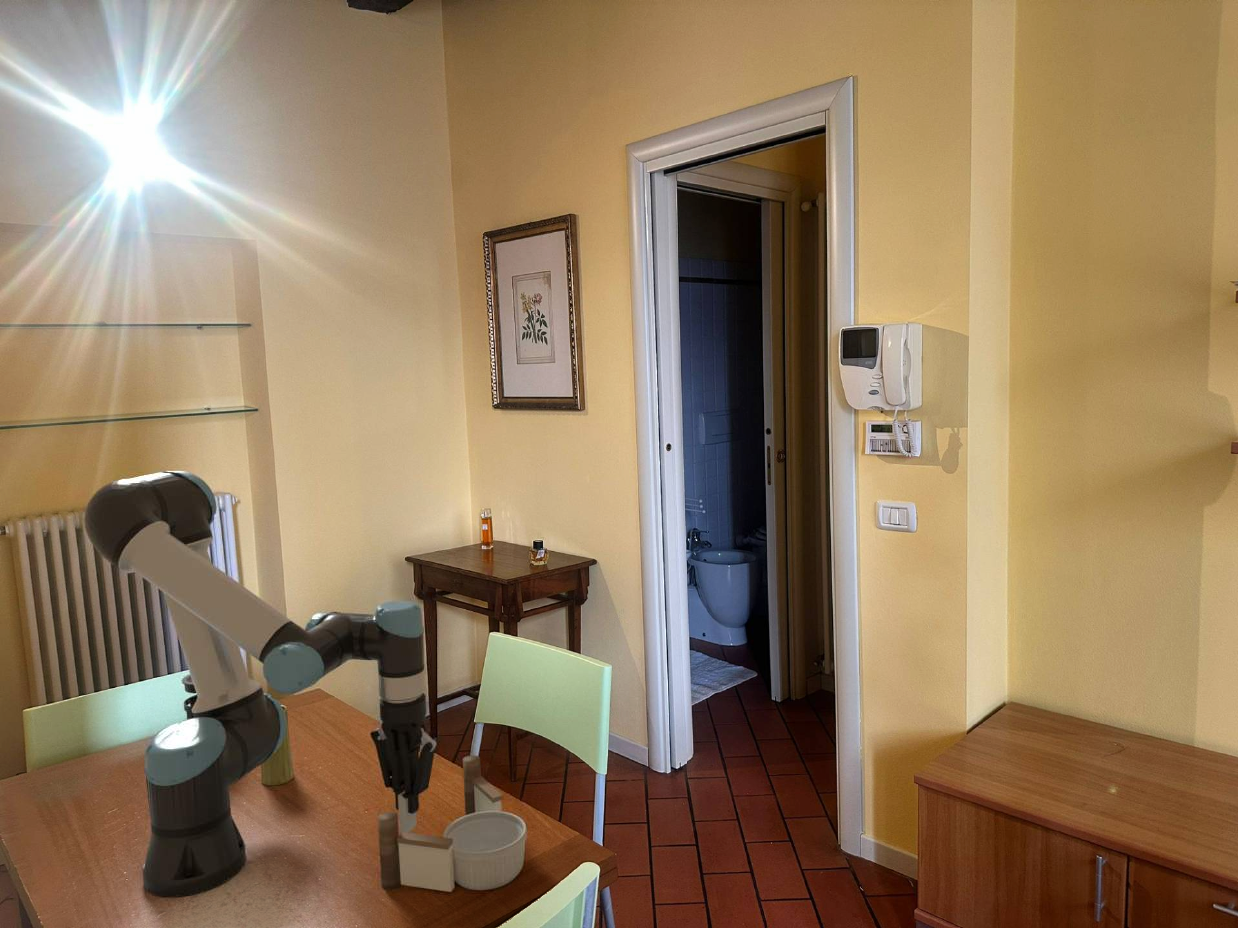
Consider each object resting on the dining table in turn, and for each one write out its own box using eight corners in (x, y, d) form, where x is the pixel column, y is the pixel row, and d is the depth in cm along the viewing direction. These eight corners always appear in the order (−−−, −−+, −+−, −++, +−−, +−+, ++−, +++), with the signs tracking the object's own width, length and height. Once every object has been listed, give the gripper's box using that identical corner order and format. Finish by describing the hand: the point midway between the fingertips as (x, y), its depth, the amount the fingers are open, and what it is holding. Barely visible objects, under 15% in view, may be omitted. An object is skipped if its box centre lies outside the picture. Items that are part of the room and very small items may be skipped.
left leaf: (399, 885, 138) (397, 837, 137) (405, 878, 140) (403, 831, 139) (449, 892, 136) (447, 844, 135) (455, 886, 138) (452, 838, 137)
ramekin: (453, 849, 149) (451, 810, 148) (532, 847, 149) (530, 808, 148) (437, 897, 136) (434, 854, 135) (523, 894, 136) (521, 851, 135)
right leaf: (504, 838, 151) (502, 795, 150) (494, 842, 150) (492, 798, 149) (483, 818, 158) (481, 776, 157) (474, 821, 157) (472, 779, 156)
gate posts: (392, 890, 138) (388, 823, 136) (377, 886, 139) (373, 819, 138) (486, 815, 160) (483, 756, 159) (472, 812, 161) (469, 754, 160)
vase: (287, 785, 173) (281, 715, 172) (255, 786, 174) (250, 715, 172) (298, 771, 179) (294, 703, 178) (268, 771, 180) (263, 703, 178)
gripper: (448, 693, 149) (452, 826, 152) (387, 681, 155) (392, 810, 158) (419, 709, 143) (424, 848, 145) (356, 696, 148) (363, 830, 151)
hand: (408, 828), depth 151 cm, fingers closed
